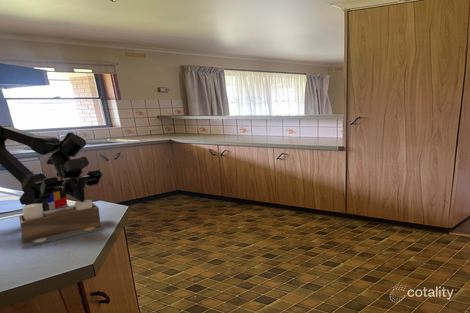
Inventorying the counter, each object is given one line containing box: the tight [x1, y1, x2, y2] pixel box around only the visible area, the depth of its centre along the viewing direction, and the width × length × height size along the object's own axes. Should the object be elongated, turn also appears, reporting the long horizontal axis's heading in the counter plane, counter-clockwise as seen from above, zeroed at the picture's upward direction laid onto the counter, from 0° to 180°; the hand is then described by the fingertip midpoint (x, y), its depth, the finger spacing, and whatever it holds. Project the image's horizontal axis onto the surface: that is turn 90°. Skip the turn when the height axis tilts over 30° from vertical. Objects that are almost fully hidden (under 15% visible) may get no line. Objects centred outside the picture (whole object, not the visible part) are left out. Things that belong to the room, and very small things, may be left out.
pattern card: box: [31, 226, 98, 247], centre depth 94 cm, size 4×17×1 cm, turn 127°
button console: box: [18, 202, 101, 244], centre depth 99 cm, size 9×21×6 cm, turn 127°
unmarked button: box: [22, 203, 44, 221], centre depth 95 cm, size 5×5×6 cm
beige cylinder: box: [74, 199, 93, 211], centre depth 103 cm, size 5×5×6 cm
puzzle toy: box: [46, 187, 68, 210], centre depth 128 cm, size 10×10×10 cm
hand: (83, 201), depth 103 cm, fingers closed, pressing on beige cylinder
